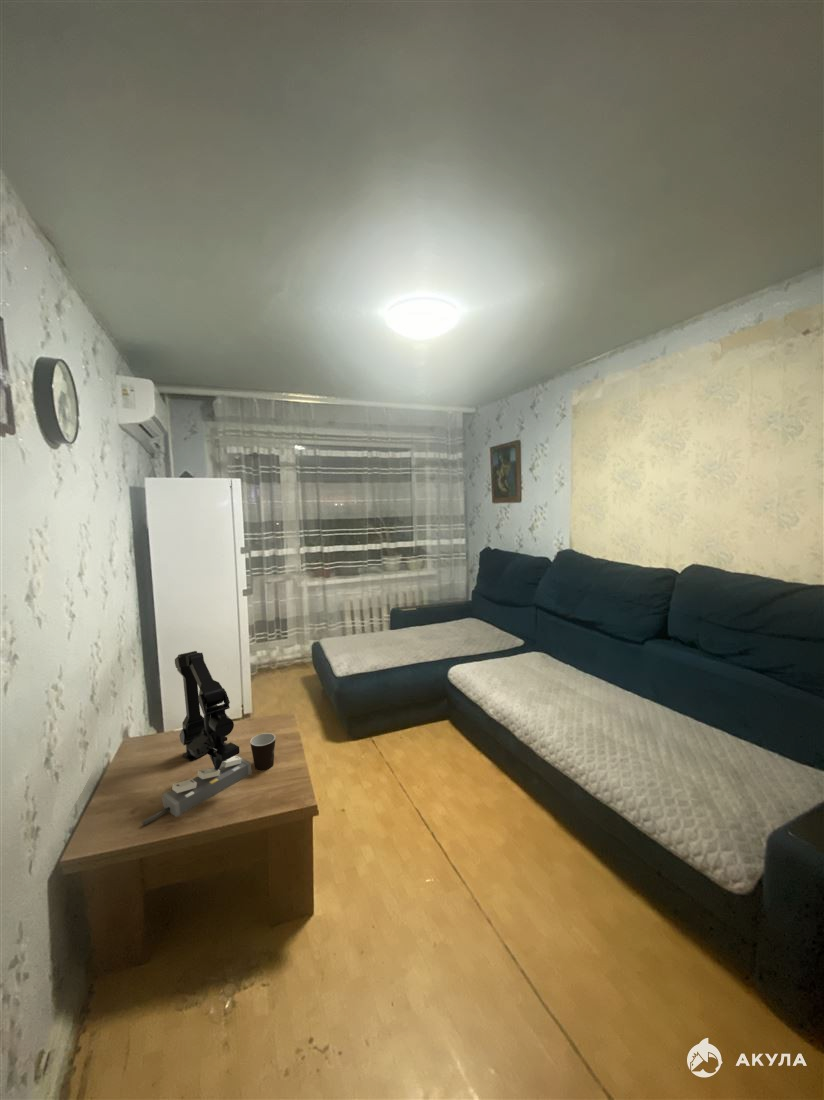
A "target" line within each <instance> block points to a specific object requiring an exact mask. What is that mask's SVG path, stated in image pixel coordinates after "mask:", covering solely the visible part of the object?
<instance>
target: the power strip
mask: <svg viewBox="0 0 824 1100" xmlns="http://www.w3.org/2000/svg"><path fill="white" fill-rule="evenodd" d="M236 756H238V757H240V758H241V759H242V760H241V764H237V765H233V766H229V767H224V766H222V765H221V766H220V768H219V770H220V774H219V776H215V777H211V778H206V779H201V778H200V777H198V776H197V775H196V777H194V778H191V779H192V780H194V781H195V782H197V785H196V788H194V789H190V790H187V791H183V792H179V793H176V792H175V791H174V790H172V789H171V790H169V791H167V792H164V793H162V795H161V799H162V800H161V801H162V807H163V808H164V809H162V810H160V811H158V812H157V813H155V814H153V815H151V816H150V817H148V818H146V819H144V820H142V822H141V825H142V826H145V825H147V824H149V823H151V822H153V821H154V820H156V819H158V818H160V817H161V816H163V815H165V814H167V813H170V814H171V815H173V816H174V817H175V818H177V817H179V816H181V815H183V814H184V813H186V812H187V811H189V810H191V809H193V808H195V807H196V806H197V805H200V804H201V803H203V802H204V801H207V800H208V799H210V798H212V797H214V796H215V795H217V794H218V793H221V792H222V791H224V790H226V789H228V788H229V787H231V786H233V785H234V784H236V783H238V782H239V781H241V780H243V779H245V778H246V777H249V776H250V775H252V763H251V762H250V761H248V760H247V759H244V758H242V757H241V756H239V754H237V755H236Z"/></svg>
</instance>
